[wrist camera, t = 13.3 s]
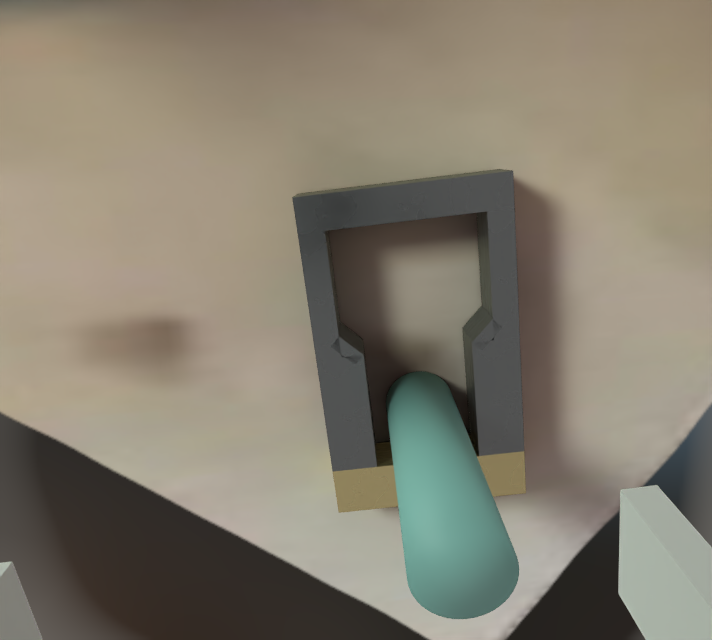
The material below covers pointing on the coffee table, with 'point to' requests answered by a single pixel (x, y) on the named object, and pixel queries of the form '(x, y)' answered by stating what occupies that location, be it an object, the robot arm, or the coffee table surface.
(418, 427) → the peg
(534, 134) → the coffee table surface
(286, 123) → the coffee table surface
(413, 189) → the keyhole plate
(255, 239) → the coffee table surface
